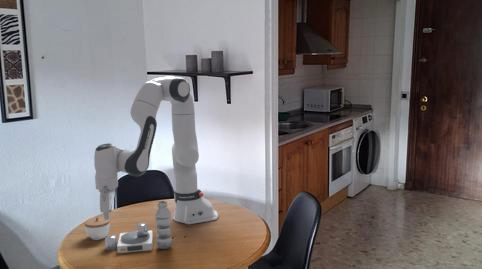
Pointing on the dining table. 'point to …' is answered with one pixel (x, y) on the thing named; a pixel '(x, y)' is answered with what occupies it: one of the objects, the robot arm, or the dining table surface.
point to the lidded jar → (97, 227)
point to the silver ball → (142, 230)
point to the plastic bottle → (163, 226)
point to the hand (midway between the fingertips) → (108, 215)
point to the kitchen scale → (134, 242)
